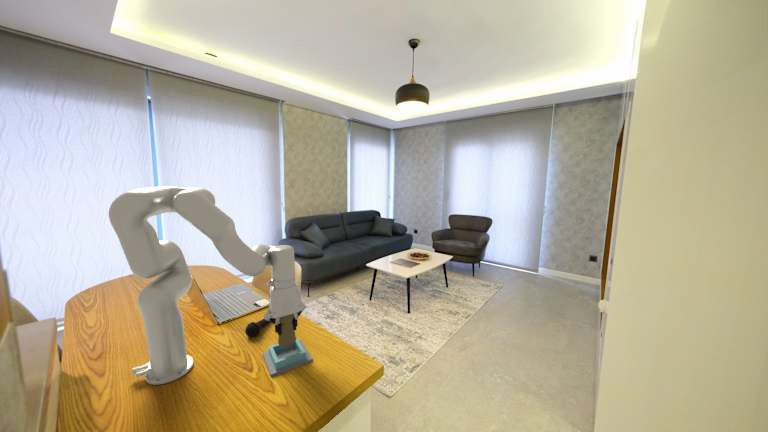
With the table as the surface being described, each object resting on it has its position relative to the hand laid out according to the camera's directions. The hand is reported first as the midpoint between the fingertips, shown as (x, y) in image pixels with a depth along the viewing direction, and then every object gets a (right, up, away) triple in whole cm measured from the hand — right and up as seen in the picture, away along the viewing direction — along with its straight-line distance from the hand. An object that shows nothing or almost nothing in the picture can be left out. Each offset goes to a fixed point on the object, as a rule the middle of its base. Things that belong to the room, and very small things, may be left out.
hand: (286, 330), depth 97 cm
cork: (0, -4, +1) cm, 4 cm away
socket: (0, -10, +2) cm, 11 cm away
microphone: (-16, -7, +21) cm, 28 cm away
